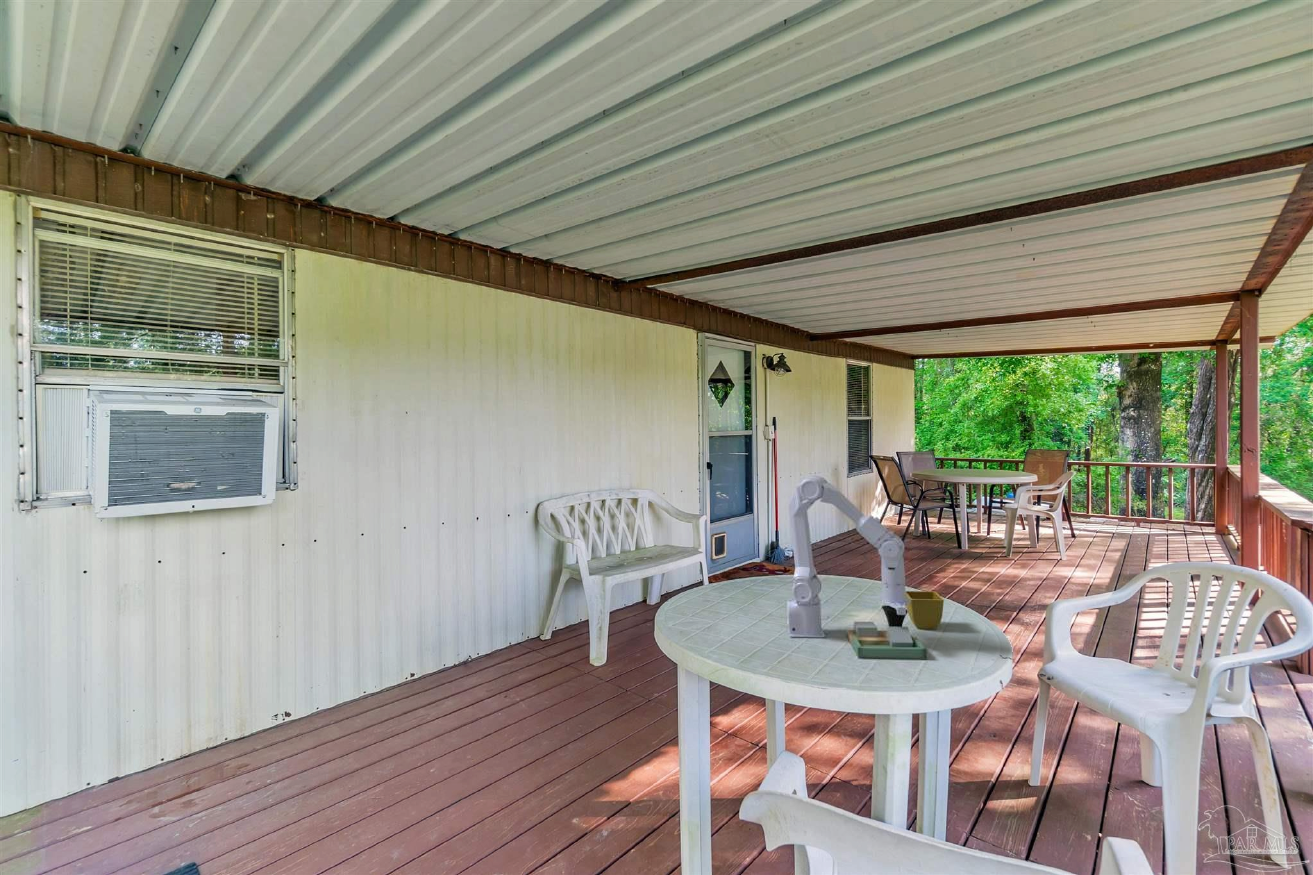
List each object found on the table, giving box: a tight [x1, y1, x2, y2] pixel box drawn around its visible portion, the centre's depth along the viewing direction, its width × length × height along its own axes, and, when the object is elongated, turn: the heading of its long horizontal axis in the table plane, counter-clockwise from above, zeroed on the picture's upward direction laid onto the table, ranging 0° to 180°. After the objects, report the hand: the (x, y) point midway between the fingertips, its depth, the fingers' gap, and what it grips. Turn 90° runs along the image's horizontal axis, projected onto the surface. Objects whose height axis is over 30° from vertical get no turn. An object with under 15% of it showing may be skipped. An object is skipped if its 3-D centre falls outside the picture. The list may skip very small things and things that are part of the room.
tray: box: [851, 636, 928, 660], centre depth 145 cm, size 16×8×2 cm, turn 81°
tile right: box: [886, 626, 913, 648], centre depth 147 cm, size 5×5×2 cm
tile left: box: [853, 621, 878, 637], centre depth 155 cm, size 5×5×2 cm
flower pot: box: [905, 590, 945, 630], centre depth 164 cm, size 9×9×9 cm
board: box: [846, 629, 913, 646], centre depth 153 cm, size 16×8×2 cm, turn 81°
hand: (895, 634), depth 151 cm, fingers closed
